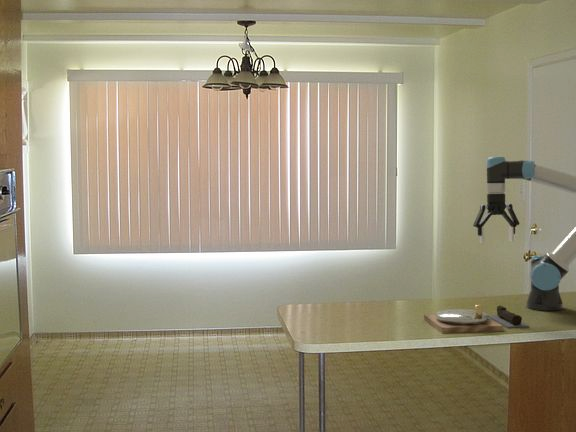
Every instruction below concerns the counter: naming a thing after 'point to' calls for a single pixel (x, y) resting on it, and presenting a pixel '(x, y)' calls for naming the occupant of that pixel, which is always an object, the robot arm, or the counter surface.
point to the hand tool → (508, 315)
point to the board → (453, 328)
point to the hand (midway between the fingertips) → (496, 242)
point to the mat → (506, 322)
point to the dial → (463, 316)
